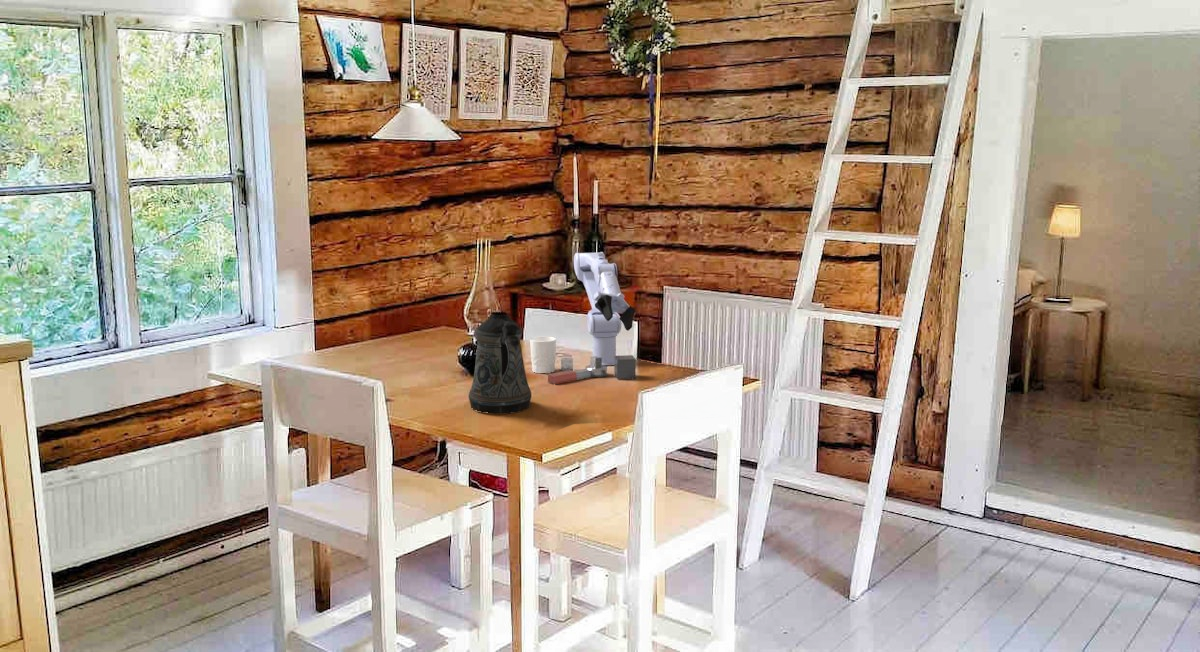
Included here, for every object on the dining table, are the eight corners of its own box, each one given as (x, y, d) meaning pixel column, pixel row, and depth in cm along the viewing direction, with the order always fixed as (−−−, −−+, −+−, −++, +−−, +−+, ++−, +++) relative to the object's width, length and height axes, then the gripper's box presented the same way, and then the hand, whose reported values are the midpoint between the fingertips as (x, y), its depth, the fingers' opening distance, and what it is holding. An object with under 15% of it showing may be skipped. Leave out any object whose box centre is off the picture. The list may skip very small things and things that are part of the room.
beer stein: (497, 395, 275) (495, 305, 270) (553, 405, 264) (551, 312, 259) (455, 408, 262) (452, 314, 257) (512, 419, 251) (510, 321, 246)
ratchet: (597, 371, 302) (597, 354, 301) (611, 375, 298) (611, 357, 297) (544, 381, 290) (544, 363, 289) (557, 385, 285) (557, 366, 284)
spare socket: (560, 370, 304) (560, 358, 303) (572, 370, 305) (572, 357, 304) (561, 373, 301) (561, 360, 300) (573, 373, 301) (573, 360, 300)
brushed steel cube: (614, 375, 298) (614, 355, 296) (632, 374, 298) (632, 355, 297) (617, 379, 292) (617, 359, 291) (635, 379, 293) (635, 359, 292)
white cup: (552, 374, 299) (552, 342, 297) (527, 373, 301) (526, 341, 299) (559, 369, 307) (558, 337, 305) (534, 367, 308) (533, 336, 306)
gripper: (601, 274, 295) (609, 305, 285) (637, 293, 303) (646, 323, 293) (586, 290, 298) (594, 321, 288) (622, 308, 306) (631, 339, 296)
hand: (619, 323), depth 291 cm, fingers open, 7 cm apart
